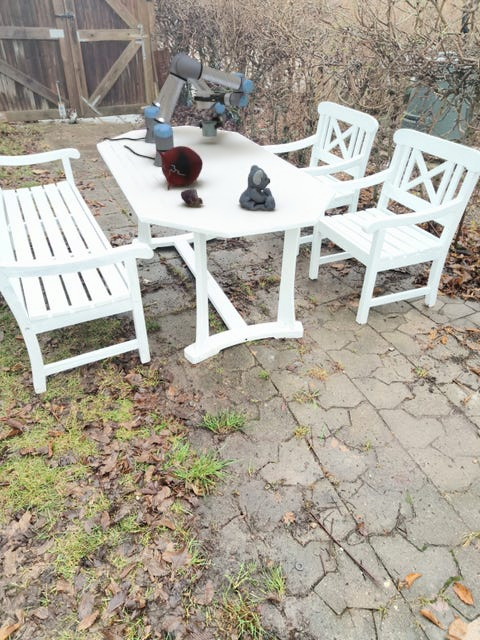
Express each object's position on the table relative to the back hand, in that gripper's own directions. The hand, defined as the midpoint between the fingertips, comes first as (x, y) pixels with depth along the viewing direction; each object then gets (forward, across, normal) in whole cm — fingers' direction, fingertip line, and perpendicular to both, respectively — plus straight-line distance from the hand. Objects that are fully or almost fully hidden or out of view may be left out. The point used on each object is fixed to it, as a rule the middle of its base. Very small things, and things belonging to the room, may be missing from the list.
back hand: (207, 127), depth 328 cm
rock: (+122, -30, -13) cm, 126 cm away
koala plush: (+116, -63, -13) cm, 132 cm away
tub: (-4, 0, -6) cm, 8 cm away
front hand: (+3, +5, +20) cm, 21 cm away
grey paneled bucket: (+3, +1, +13) cm, 14 cm away
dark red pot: (+90, -13, -13) cm, 91 cm away
